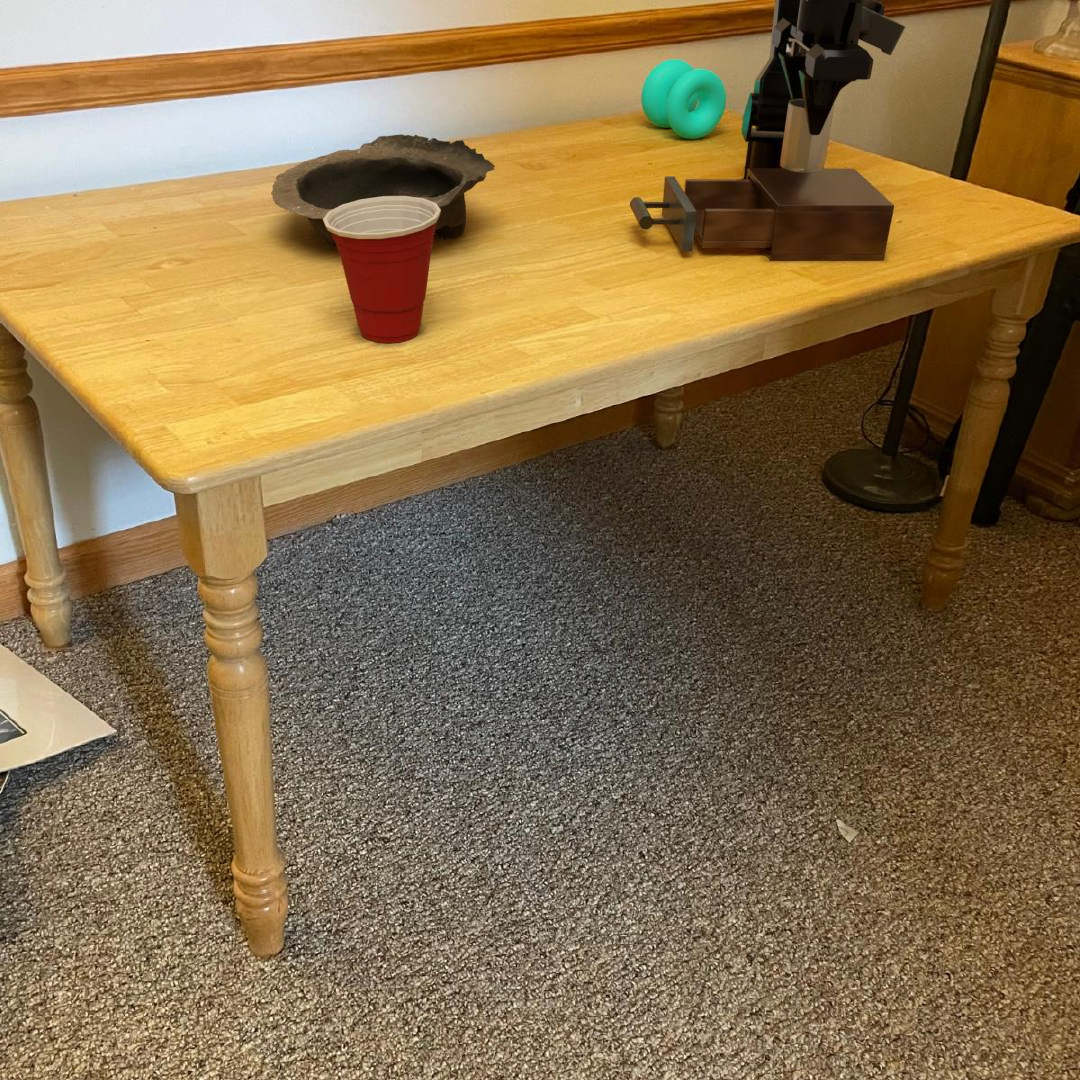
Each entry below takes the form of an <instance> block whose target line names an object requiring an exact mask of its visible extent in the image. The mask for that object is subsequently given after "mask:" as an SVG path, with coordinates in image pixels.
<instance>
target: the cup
mask: <svg viewBox="0 0 1080 1080" xmlns="http://www.w3.org/2000/svg"><path fill="white" fill-rule="evenodd" d="M834 108H835V103H834V104H833V106H832V108H831V111H830V113H829V115H828V117H827V120H826V122H825V124H824V126H823V128H822V131H821V133H820V134H819V135H811V134H810V133H809V128H808V123H807V117H806V111H805V105H804V99H794V100H790V101H789V104H788V111H787V118H786V125H785V132H784V139H783V146H782V153H781V160H780V162H781V163H780V166H781V167H782V168H784V169H786V170H789V171H794V172H801V173H815V172H820V171H822V170H823V169H824V168H825V166H826V159H827V154H828V146H829V143H830V142H829V140H830V135H831V128H832V123H833V116H834Z"/></svg>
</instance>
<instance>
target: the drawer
mask: <svg viewBox="0 0 1080 1080" xmlns="http://www.w3.org/2000/svg"><path fill="white" fill-rule="evenodd" d="M663 183H664V185H663V194H662V201H644V200H643V199H642V198H641V197H640V196H635V197H633V198H631V200H630V202H629V207H630V209H631V211H632V213H633V216H634V217H635V220H636V221H637V223H638V225H639V228H640V229H642V230H644V231H646V230H650V229H651V228H652V227H653V226H654V225H656V226H659V225H660V226H661V225H662V226H666V225H667V227H668V229H669V231H670V232H671V234H672V236H673V238H674V239H675V242H676V243H677V245H678V248H679V249H680V250H681V252H682V253H693V250H694V240H695V238H696V240H697V242H698V243H699V246H701V248H702V249H745V248H746V249H760V248H761V249H762V248H771V241H772V234H773V227H774V220H775V213H776V209H775V208H774V206H773V205H772V204H771V203H770V201H769V200H768V199H767V198H766V196H765V195H764V194H763V193H762V192H761V190H760V189H759V188H758V187H757V185H756V184H755V183H754V182H753V180H752V179H741V178H731V179H730V178H726V179H725V178H724V179H723V178H719V179H717V178H686V179H684V189H683V188H682V186H681V185H680V183H679V181H678V180H677V178H676V177H675V176H672V175H671V176H669V175H668V176H666V175H665V176H664V182H663ZM648 209H661V216H662V217H652V215H651V214H650V212H649V210H648Z"/></svg>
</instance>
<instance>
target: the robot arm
mask: <svg viewBox="0 0 1080 1080" xmlns="http://www.w3.org/2000/svg"><path fill="white" fill-rule="evenodd" d="M885 9H886V7H885V4H883V3H882V2H880V1H877V0H774V9H773V20H772V30H771V41H770V50H769V59H767V62H766V63H765V64H764V66H763V67H762V69H761V71H760V72H759V74H758V75H757V76H756V78H755V80H754V86H753V92H750V93H749V95H748V98H747V103H746V105H745V108H744V110H743V111H744V112H743V115H742V120H741V121H742V123H741V135H742V137H743V140H744V142H745V143H747V148H746V156H745V163H744V171H743V177H742V178H740V179H746V177H747V169H748V168H782V167H781V166H780V163H781V162H780V160H781V153H782V146H783V139H784V132H785V125H786V118H787V111H788V104H789V101H790V100H794V99H804V105H805V111H806V117H807V123H808V128H809V133H810V134H811V135H819V134H820V133H821V131H822V128H823V126H824V124H825V122H826V120H827V117H828V115H829V113H830V111H831V108H832V106H833V104H834V105H835V102H836V100H837V98H838V96H839V94H840V92H841V90H842V89H844V88H845V87H846V86H848V85H849V84H851V83H852V82H856V81H858V80H860V81H863V80H864V81H867V80H871V77H872V72H873V66H874V58H873V57H872V56H871V54H870V53H869V52H868V50H867V49H866V48H864V47H862V45H859V41H862V42H864V43H866V44H869V45H871V46H873V47H875V48H878V49H879V50H880V51H881V52H882V53H883V54H886V55H889V56H892V54H893V52H894V51H895V48H896V46H897V45H898V42H899V41H900V39H901V37H902V35H903V33H904V31H905V29H906V26H905V25H904V24H902V23H901V22H898V21H896V20H895V19H893V18H891V17H889V16H887V15H885Z"/></svg>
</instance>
